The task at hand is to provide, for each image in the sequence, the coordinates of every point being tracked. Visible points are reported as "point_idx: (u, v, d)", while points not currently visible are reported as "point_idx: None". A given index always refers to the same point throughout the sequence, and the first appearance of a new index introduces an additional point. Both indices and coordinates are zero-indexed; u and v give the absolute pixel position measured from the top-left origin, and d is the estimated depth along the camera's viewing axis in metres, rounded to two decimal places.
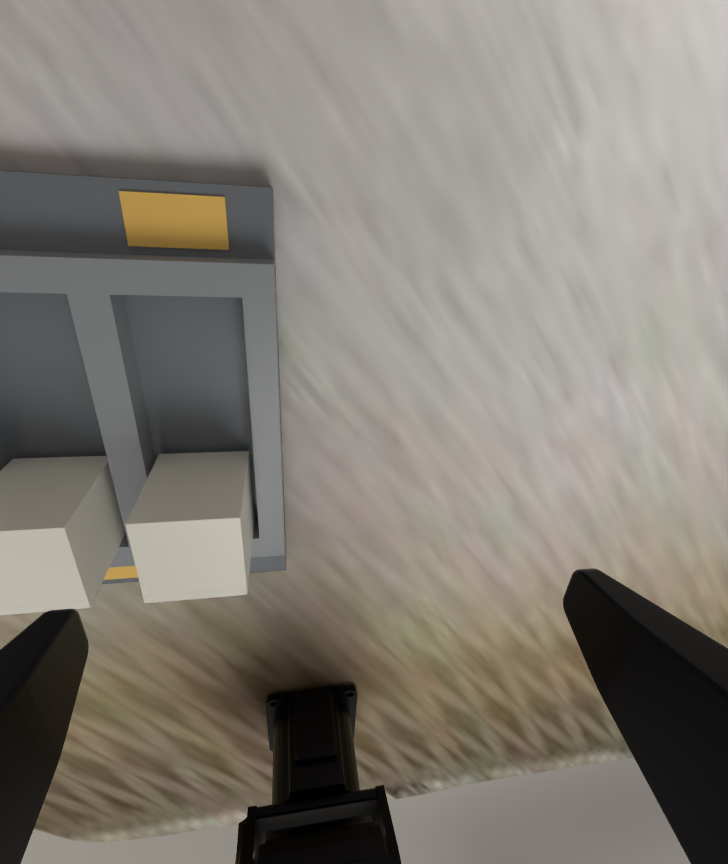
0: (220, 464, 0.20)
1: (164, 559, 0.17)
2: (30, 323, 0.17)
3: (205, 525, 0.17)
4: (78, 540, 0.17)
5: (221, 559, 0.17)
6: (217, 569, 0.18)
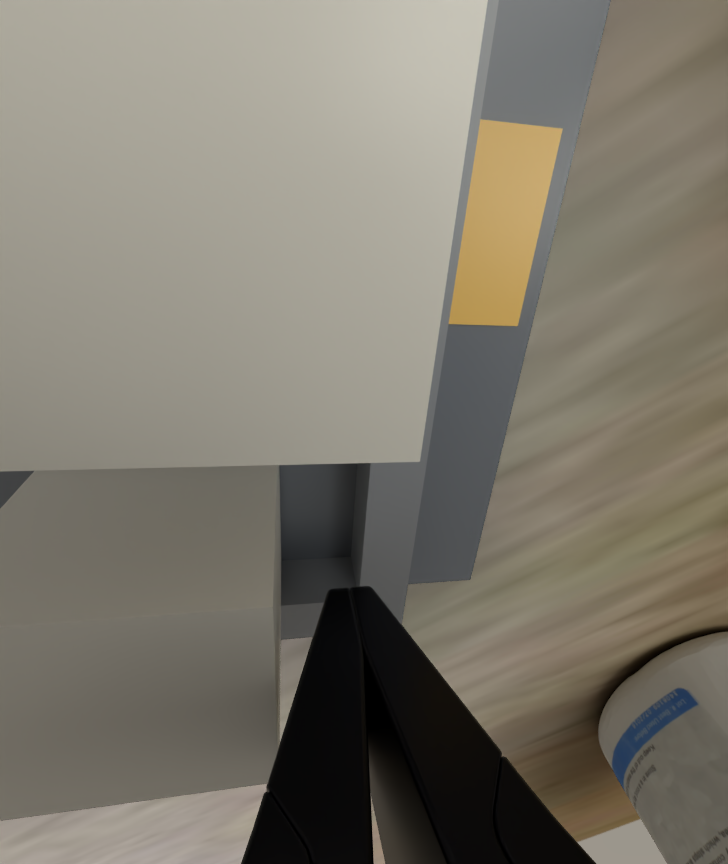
0: None
1: None
2: None
3: None
4: None
5: None
6: None
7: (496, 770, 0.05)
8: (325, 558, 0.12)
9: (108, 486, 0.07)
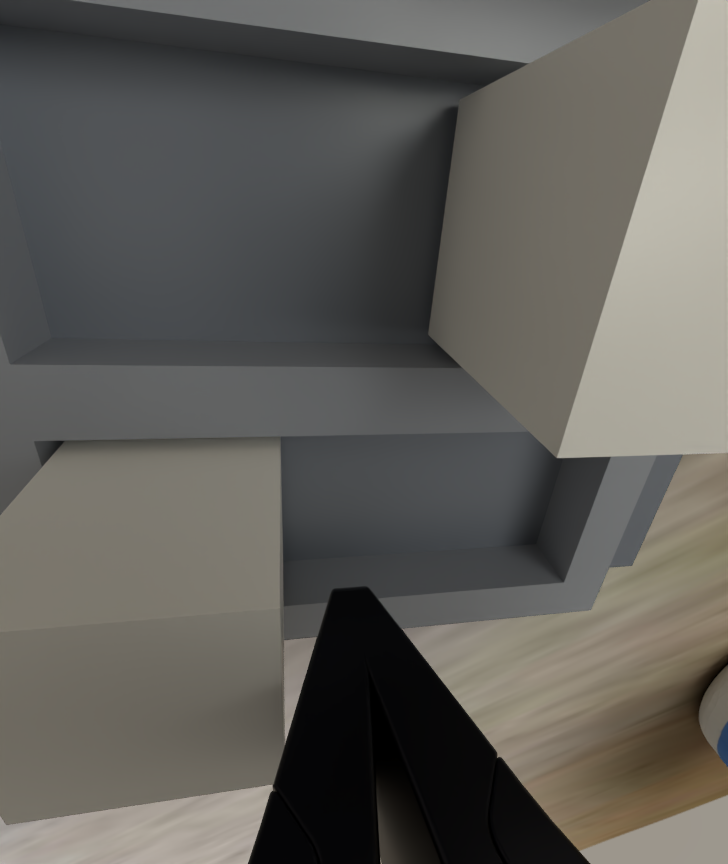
0: None
1: None
2: (108, 200, 0.08)
3: None
4: None
5: None
6: None
7: (492, 771, 0.05)
8: (514, 545, 0.13)
9: (111, 488, 0.07)
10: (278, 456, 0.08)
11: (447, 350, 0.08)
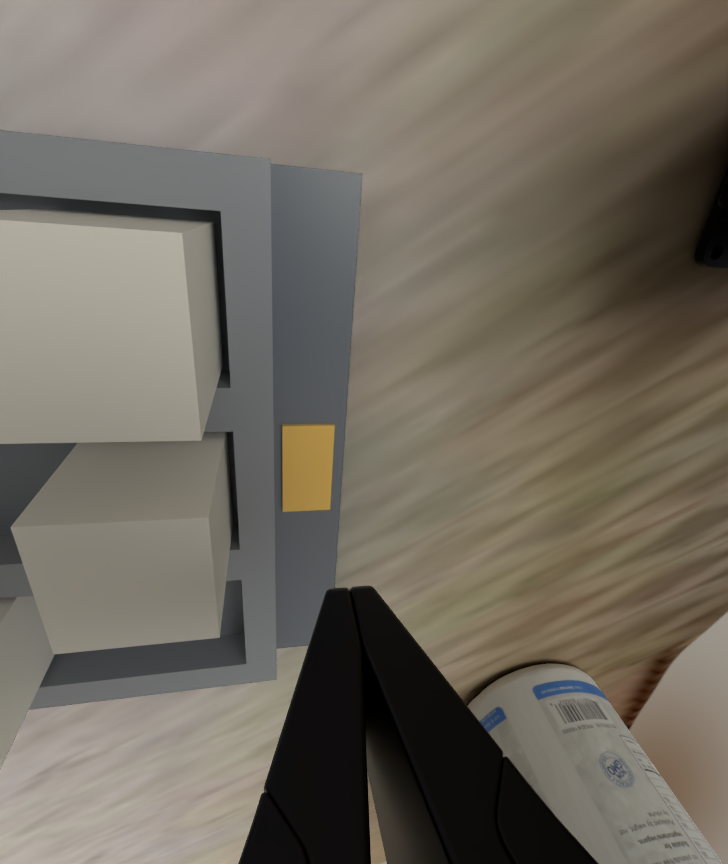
0: None
1: (72, 392, 0.08)
2: None
3: None
4: (78, 508, 0.10)
5: (61, 277, 0.08)
6: (94, 293, 0.08)
7: (498, 770, 0.05)
8: (231, 634, 0.19)
9: None
10: (8, 609, 0.15)
11: None
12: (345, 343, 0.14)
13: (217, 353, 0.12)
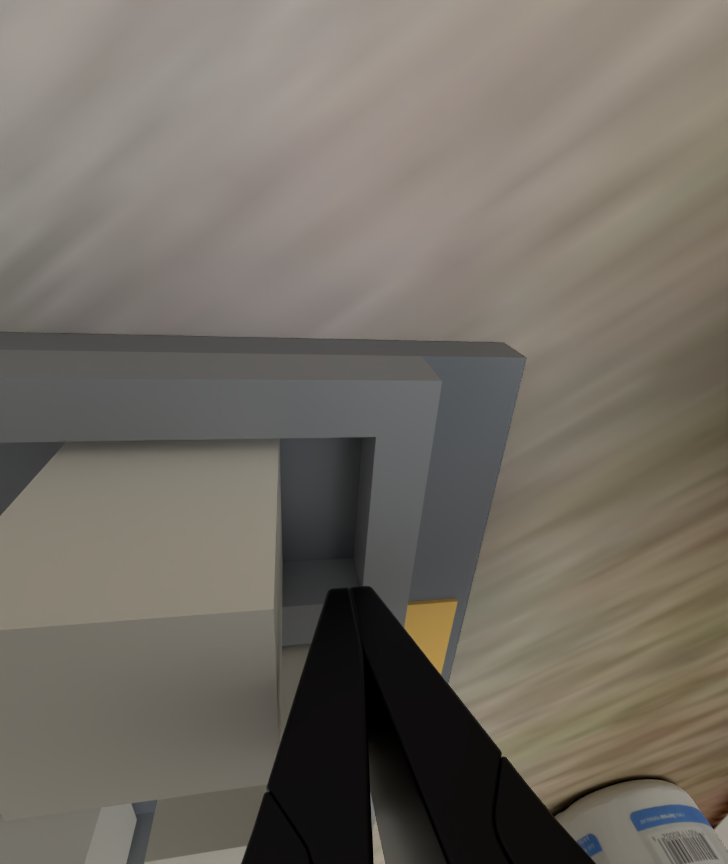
0: None
1: (120, 764, 0.06)
2: None
3: None
4: (215, 811, 0.08)
5: (108, 670, 0.05)
6: (153, 678, 0.06)
7: (496, 770, 0.05)
8: None
9: None
10: (98, 813, 0.13)
11: None
12: (480, 523, 0.12)
13: (281, 574, 0.10)
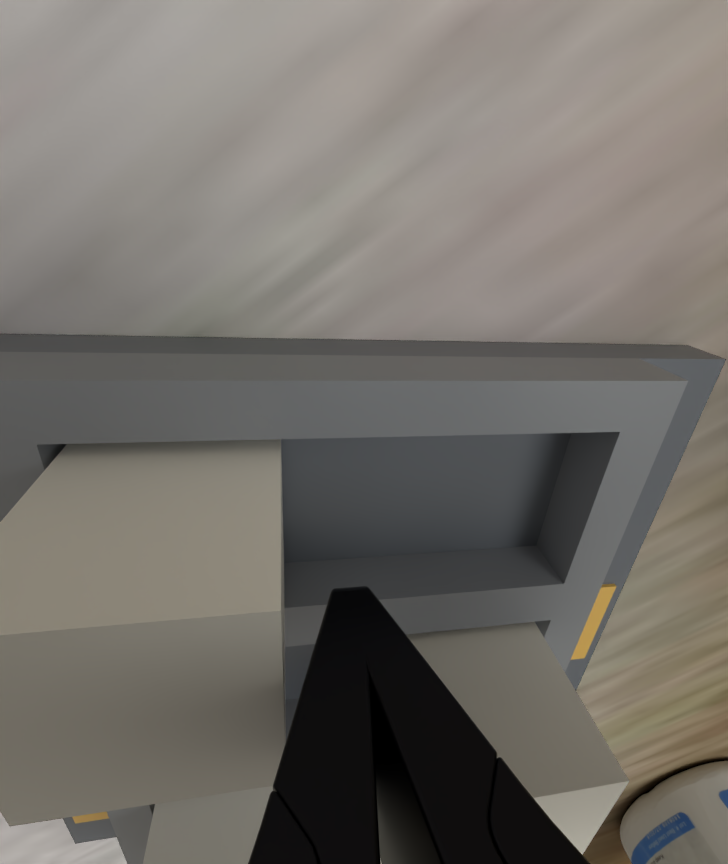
0: None
1: (126, 769, 0.06)
2: None
3: None
4: None
5: (114, 673, 0.05)
6: (159, 681, 0.06)
7: (491, 771, 0.05)
8: None
9: (195, 837, 0.13)
10: None
11: None
12: (651, 512, 0.13)
13: None
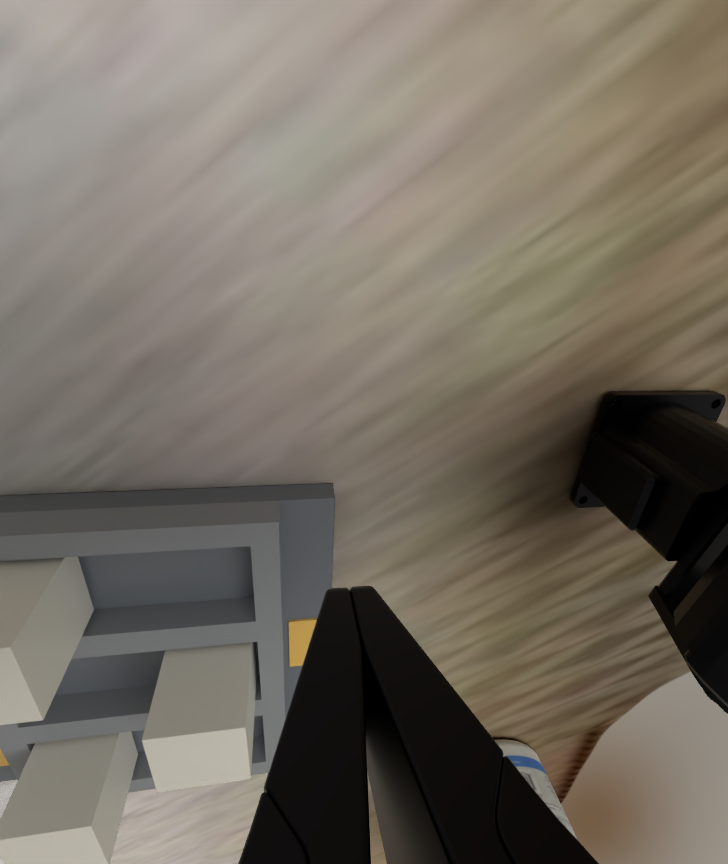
0: None
1: None
2: None
3: None
4: (174, 721, 0.18)
5: None
6: None
7: (498, 770, 0.05)
8: (255, 736, 0.28)
9: (52, 767, 0.22)
10: (116, 741, 0.23)
11: None
12: (328, 576, 0.22)
13: (80, 619, 0.19)
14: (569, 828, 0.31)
